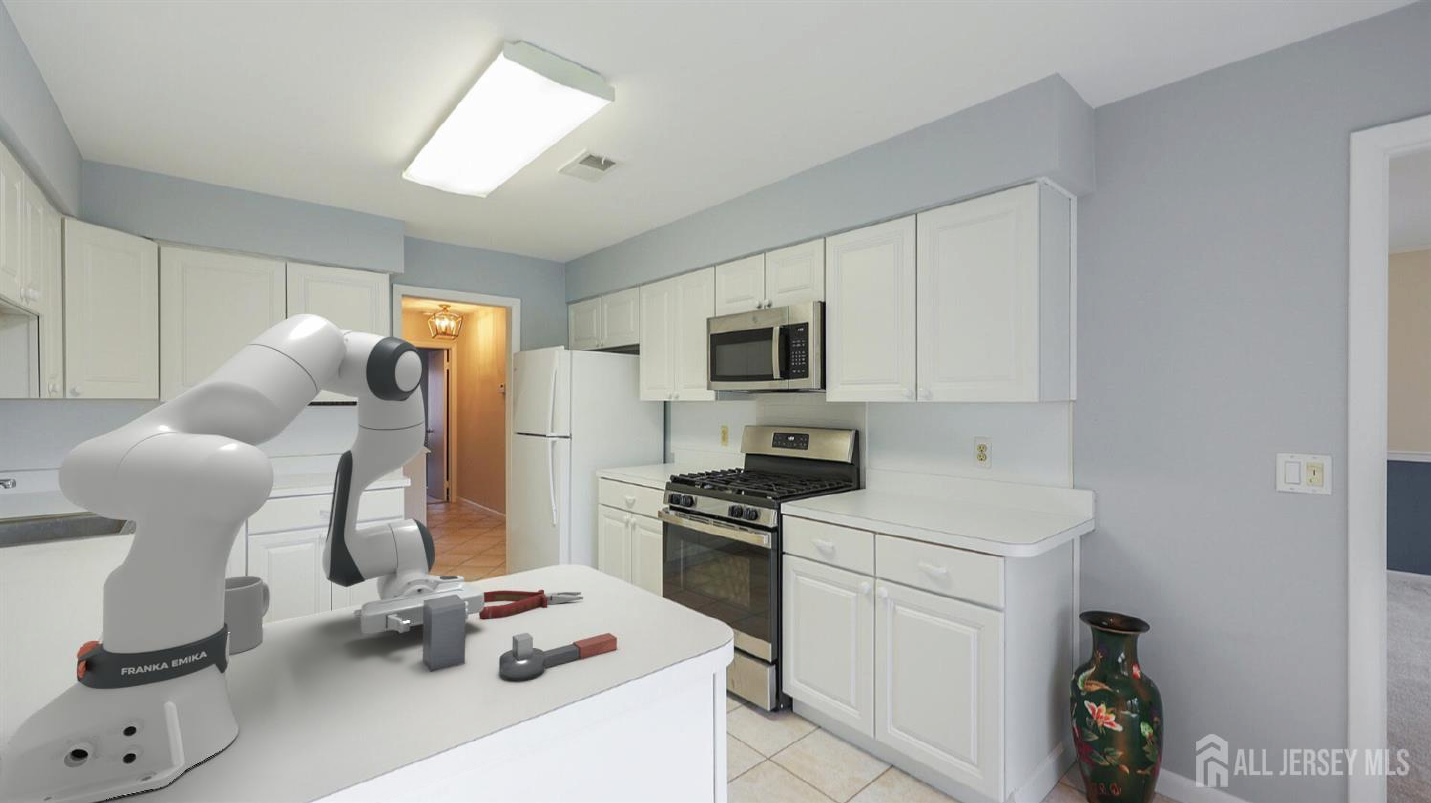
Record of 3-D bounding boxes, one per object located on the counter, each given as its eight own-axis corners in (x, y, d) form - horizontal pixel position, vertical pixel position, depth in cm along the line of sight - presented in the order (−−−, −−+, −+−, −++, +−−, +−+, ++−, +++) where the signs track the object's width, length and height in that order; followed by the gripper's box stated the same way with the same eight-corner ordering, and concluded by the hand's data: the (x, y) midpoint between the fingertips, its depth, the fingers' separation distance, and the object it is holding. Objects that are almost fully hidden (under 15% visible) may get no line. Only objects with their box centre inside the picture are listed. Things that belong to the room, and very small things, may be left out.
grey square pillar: (431, 671, 97) (432, 609, 97) (422, 660, 101) (423, 600, 101) (464, 663, 101) (465, 602, 101) (455, 652, 105) (456, 594, 105)
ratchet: (508, 685, 93) (509, 649, 93) (492, 669, 99) (493, 634, 99) (622, 653, 106) (623, 620, 106) (603, 640, 111) (603, 609, 111)
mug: (235, 657, 101) (236, 591, 101) (185, 655, 101) (186, 589, 101) (288, 630, 113) (289, 570, 113) (244, 628, 113) (245, 569, 113)
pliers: (586, 610, 128) (587, 597, 128) (478, 623, 120) (479, 609, 120) (577, 593, 139) (577, 581, 139) (477, 603, 131) (478, 590, 131)
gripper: (352, 593, 109) (366, 615, 98) (470, 574, 122) (494, 592, 111) (351, 628, 109) (366, 654, 98) (469, 605, 122) (494, 626, 111)
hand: (435, 621), depth 104 cm, fingers open, 8 cm apart
